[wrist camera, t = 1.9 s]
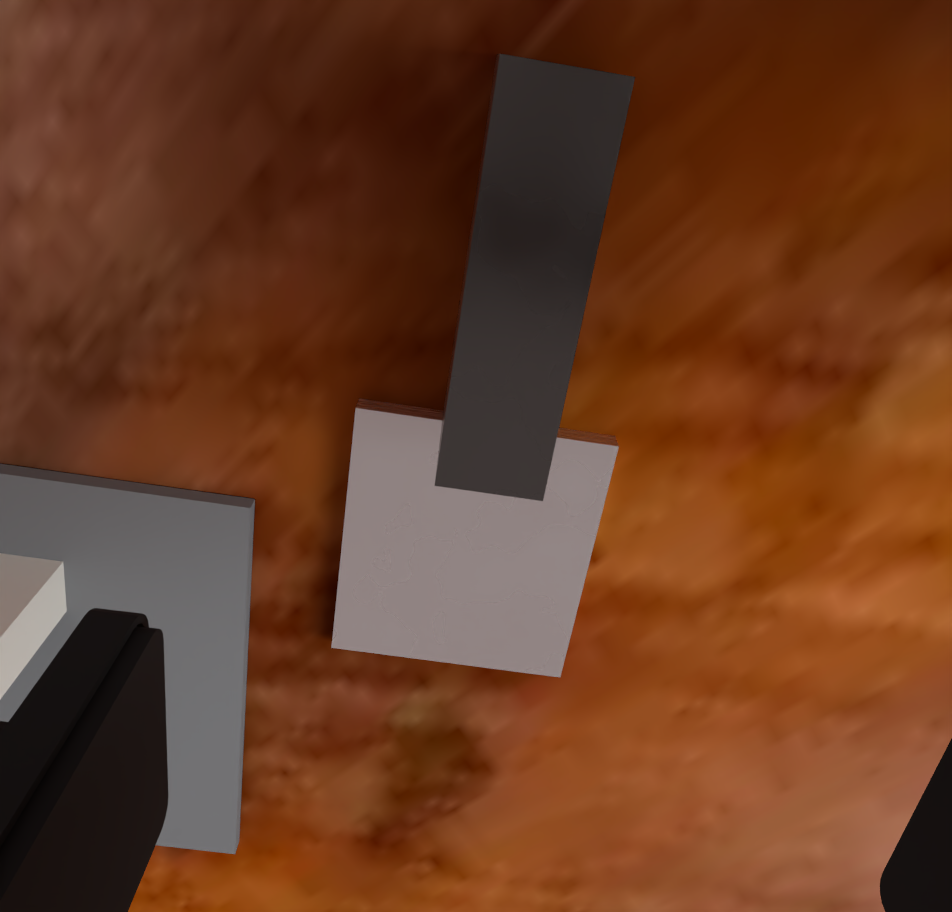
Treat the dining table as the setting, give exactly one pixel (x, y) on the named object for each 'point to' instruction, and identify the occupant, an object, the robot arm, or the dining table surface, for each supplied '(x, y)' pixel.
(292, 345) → the dining table surface
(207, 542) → the mat
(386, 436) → the trowel
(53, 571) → the tile
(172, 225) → the dining table surface
